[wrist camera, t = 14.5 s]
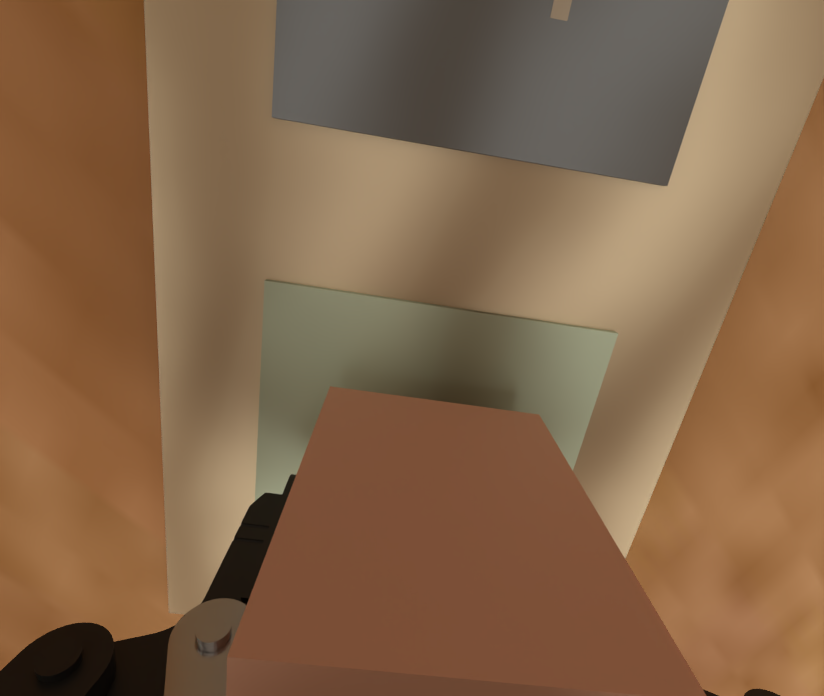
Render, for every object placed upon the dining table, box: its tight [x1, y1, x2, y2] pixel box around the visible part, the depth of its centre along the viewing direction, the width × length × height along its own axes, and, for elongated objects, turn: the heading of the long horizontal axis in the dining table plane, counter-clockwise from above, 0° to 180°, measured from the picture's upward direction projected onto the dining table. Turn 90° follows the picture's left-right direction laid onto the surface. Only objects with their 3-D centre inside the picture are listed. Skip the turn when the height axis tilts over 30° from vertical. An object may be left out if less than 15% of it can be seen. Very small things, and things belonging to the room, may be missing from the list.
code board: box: [144, 0, 824, 614], centre depth 12 cm, size 16×30×1 cm, turn 171°
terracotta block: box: [226, 386, 706, 696], centre depth 9 cm, size 6×6×7 cm
